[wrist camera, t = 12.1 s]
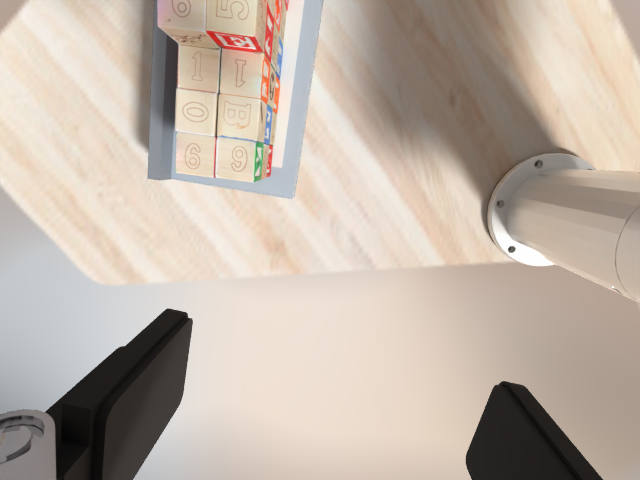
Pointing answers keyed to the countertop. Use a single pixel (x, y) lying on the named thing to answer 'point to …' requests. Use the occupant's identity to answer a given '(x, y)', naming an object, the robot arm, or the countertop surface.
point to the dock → (290, 113)
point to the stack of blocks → (226, 84)
